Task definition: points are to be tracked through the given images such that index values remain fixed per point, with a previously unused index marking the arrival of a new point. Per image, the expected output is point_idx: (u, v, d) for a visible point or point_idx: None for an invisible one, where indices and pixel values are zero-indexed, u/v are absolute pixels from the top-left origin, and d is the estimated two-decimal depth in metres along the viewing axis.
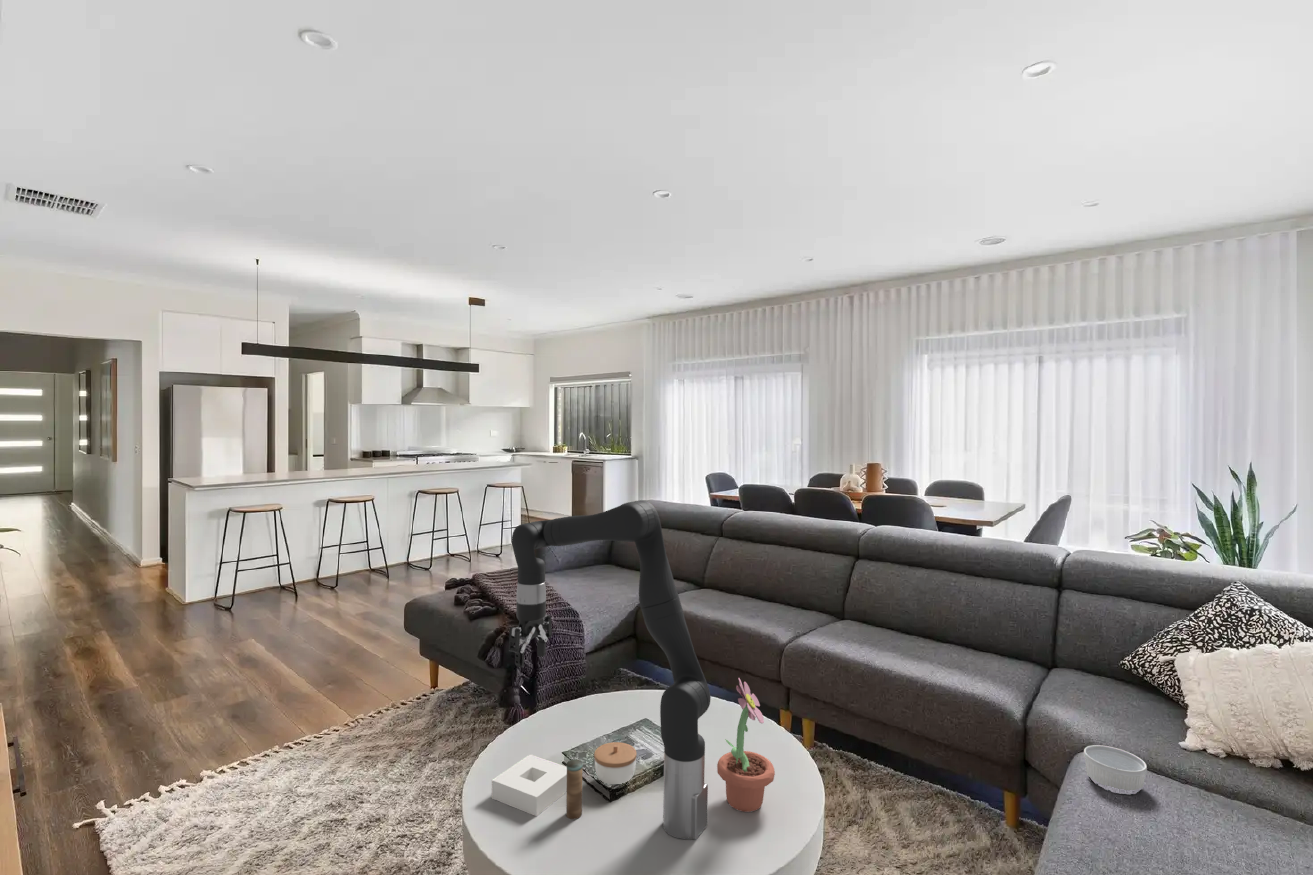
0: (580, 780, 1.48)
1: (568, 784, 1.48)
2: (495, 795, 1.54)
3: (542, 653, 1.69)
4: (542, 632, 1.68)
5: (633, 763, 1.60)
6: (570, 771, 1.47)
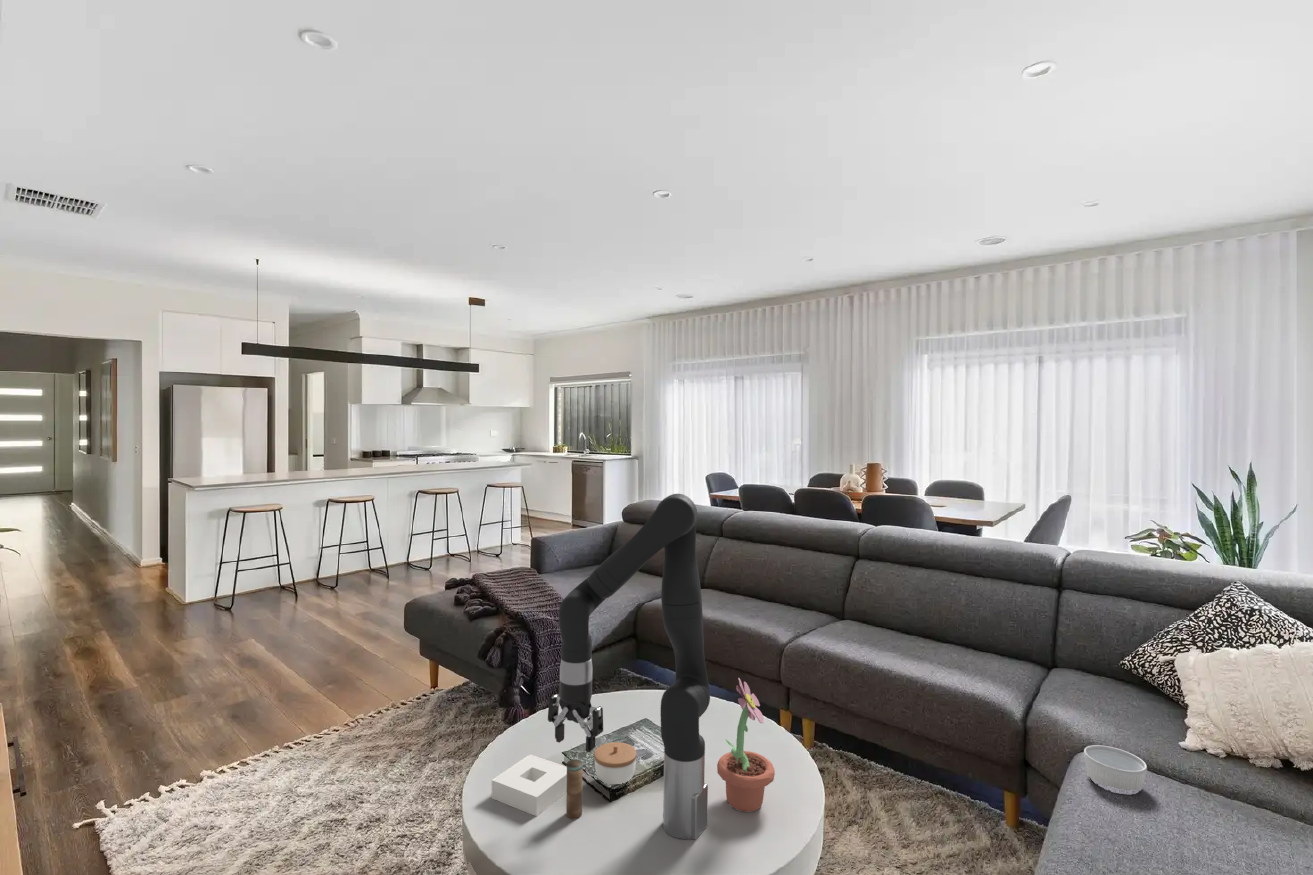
0: (580, 780, 1.48)
1: (568, 784, 1.48)
2: (495, 795, 1.54)
3: (563, 736, 1.51)
4: None
5: (633, 763, 1.60)
6: (570, 771, 1.47)
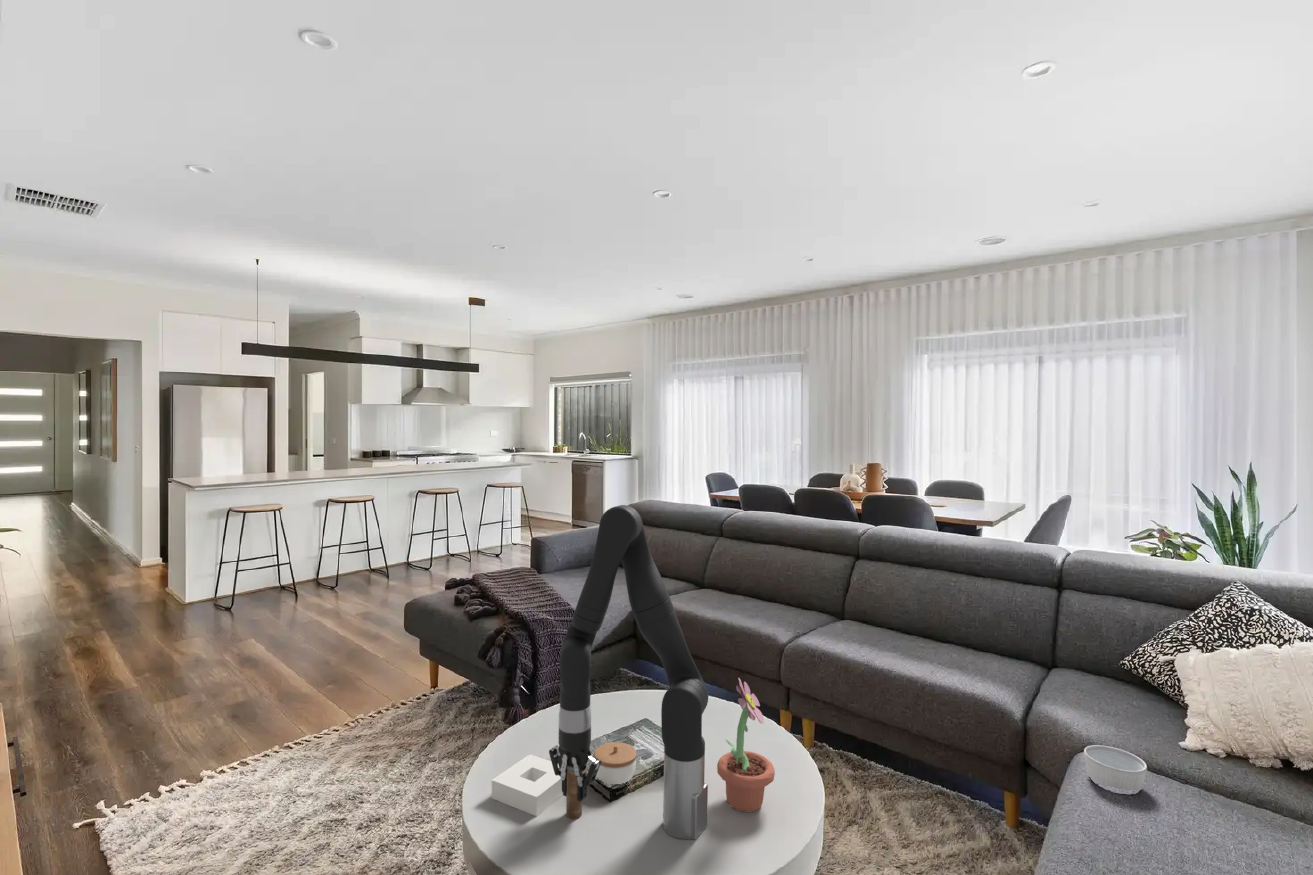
0: None
1: (568, 784, 1.48)
2: (495, 795, 1.54)
3: None
4: None
5: (633, 763, 1.60)
6: (570, 771, 1.47)
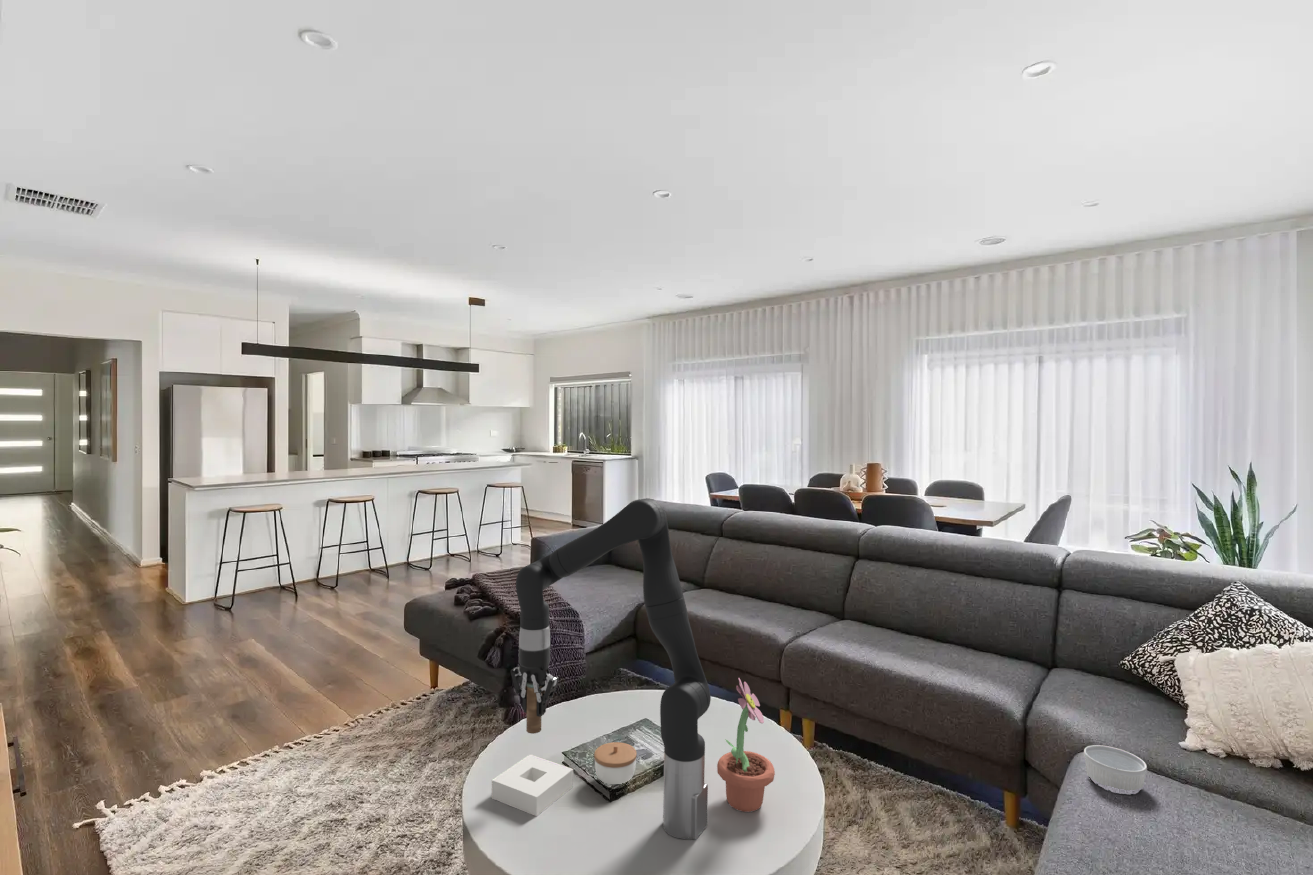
0: None
1: (528, 700, 1.56)
2: (495, 795, 1.54)
3: None
4: None
5: (633, 763, 1.60)
6: (529, 687, 1.55)
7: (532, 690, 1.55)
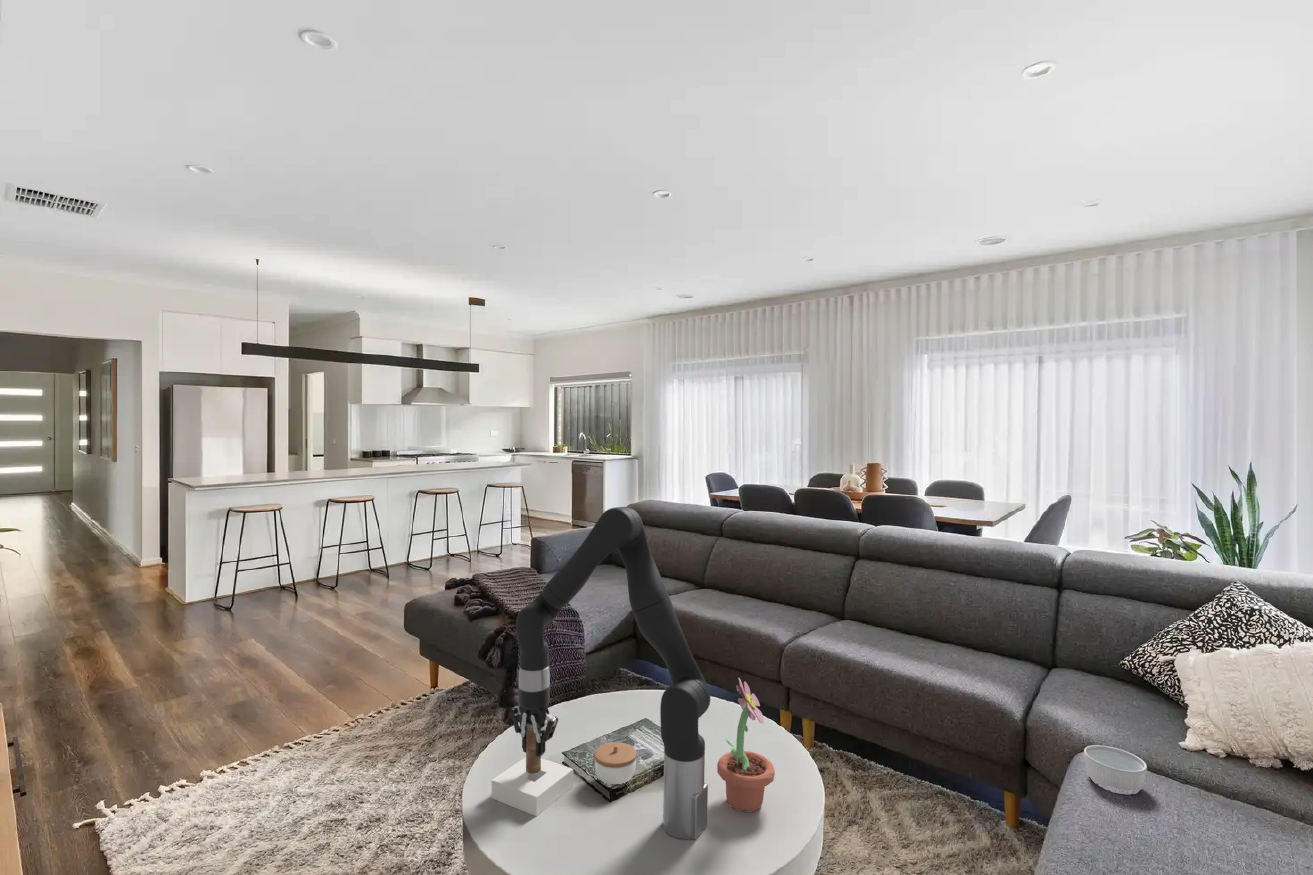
0: None
1: (527, 740, 1.56)
2: (495, 795, 1.54)
3: None
4: None
5: (633, 763, 1.60)
6: (529, 728, 1.56)
7: (531, 730, 1.56)
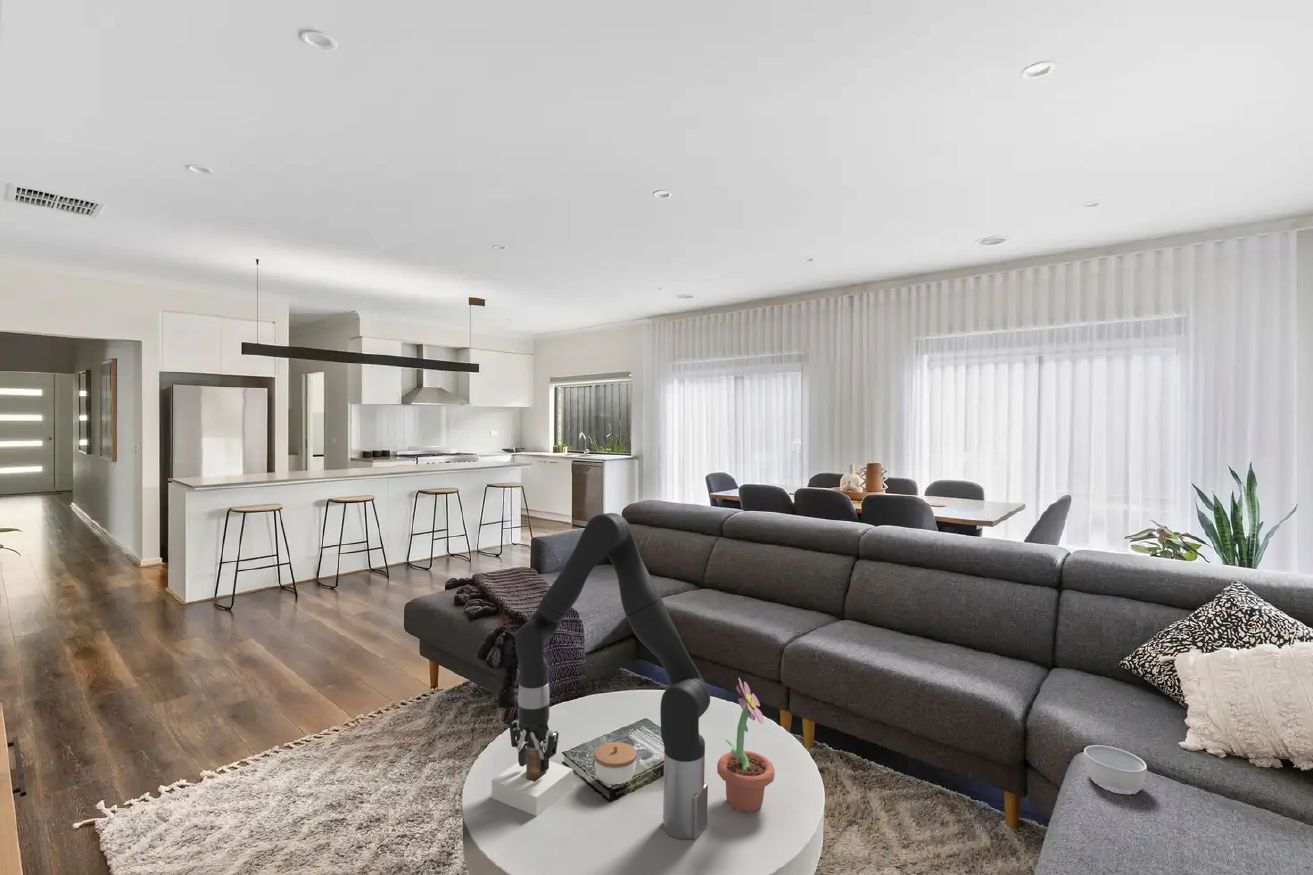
0: (539, 760, 1.57)
1: (527, 764, 1.56)
2: (495, 795, 1.54)
3: None
4: None
5: (633, 763, 1.60)
6: (529, 751, 1.56)
7: (532, 753, 1.56)
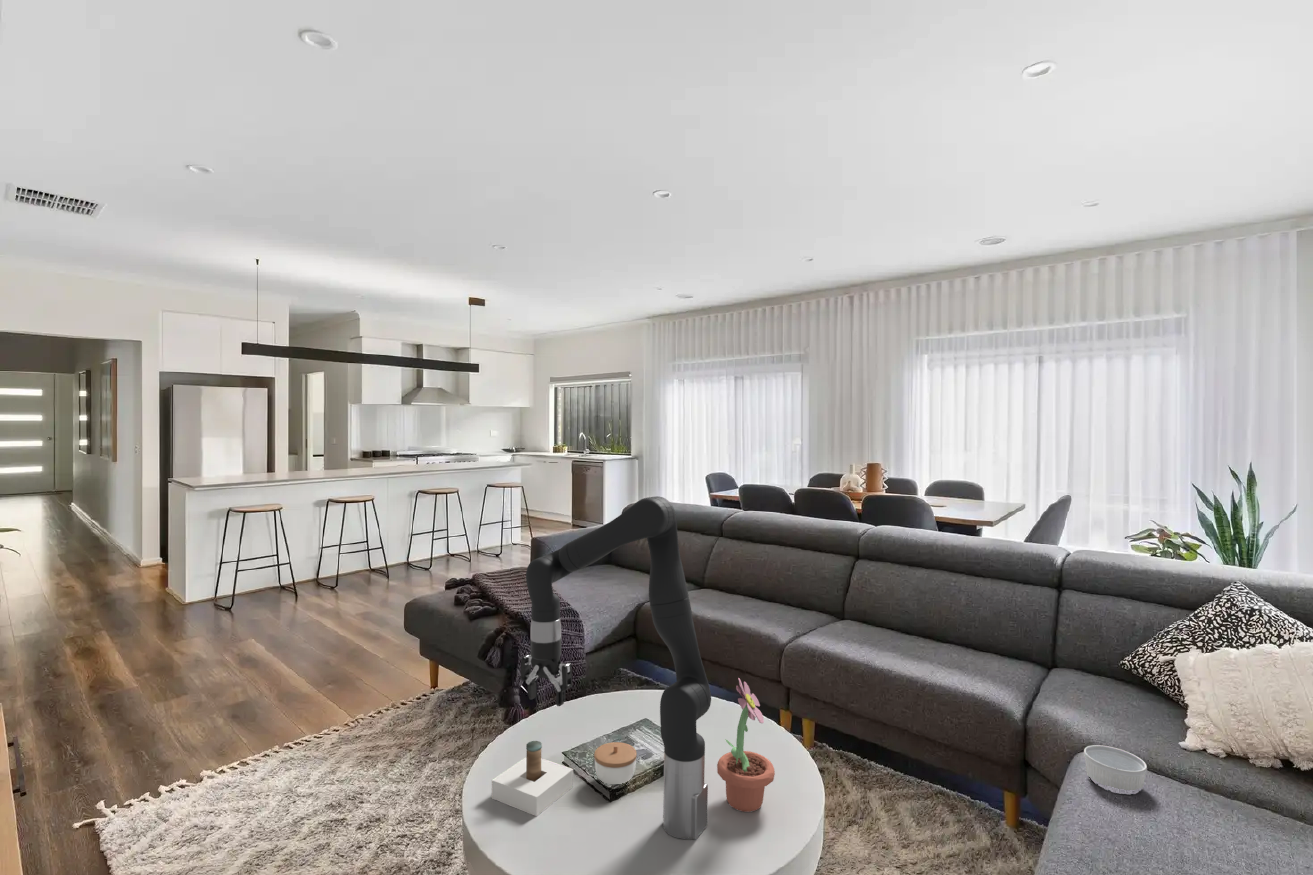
0: (539, 760, 1.57)
1: (527, 764, 1.56)
2: (495, 795, 1.54)
3: (535, 693, 1.61)
4: None
5: (633, 763, 1.60)
6: (529, 751, 1.56)
7: (532, 754, 1.56)
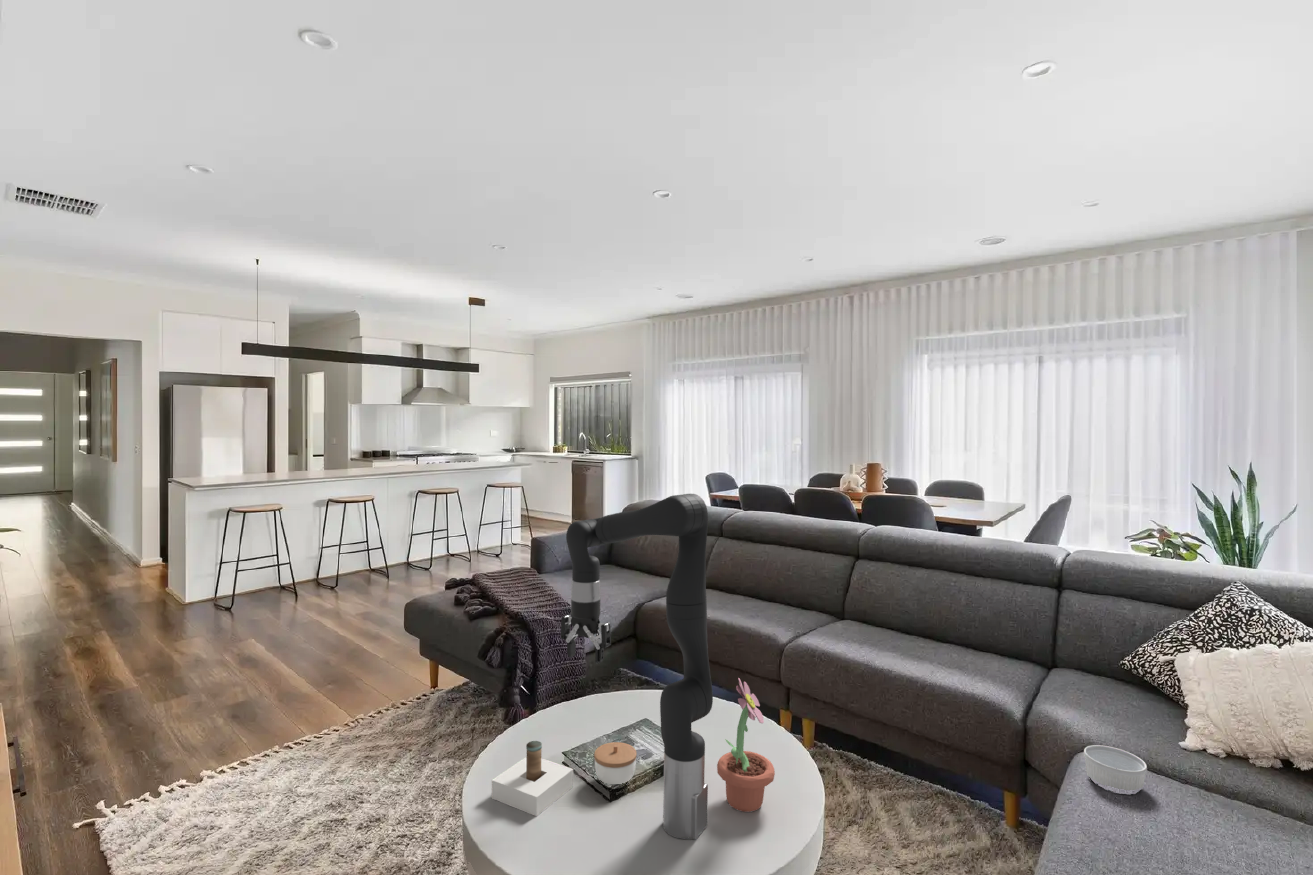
0: (539, 760, 1.57)
1: (527, 764, 1.56)
2: (495, 795, 1.54)
3: (574, 652, 1.68)
4: None
5: (633, 763, 1.60)
6: (529, 751, 1.56)
7: (532, 753, 1.56)
